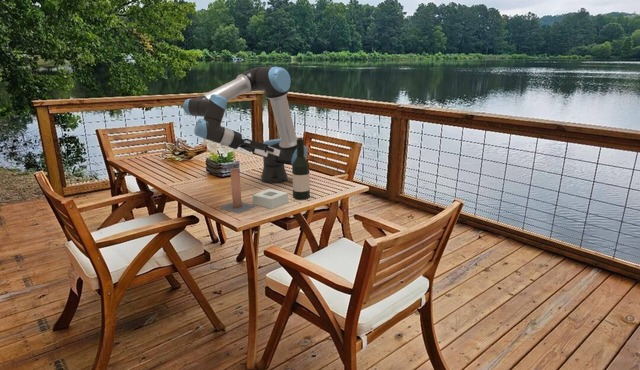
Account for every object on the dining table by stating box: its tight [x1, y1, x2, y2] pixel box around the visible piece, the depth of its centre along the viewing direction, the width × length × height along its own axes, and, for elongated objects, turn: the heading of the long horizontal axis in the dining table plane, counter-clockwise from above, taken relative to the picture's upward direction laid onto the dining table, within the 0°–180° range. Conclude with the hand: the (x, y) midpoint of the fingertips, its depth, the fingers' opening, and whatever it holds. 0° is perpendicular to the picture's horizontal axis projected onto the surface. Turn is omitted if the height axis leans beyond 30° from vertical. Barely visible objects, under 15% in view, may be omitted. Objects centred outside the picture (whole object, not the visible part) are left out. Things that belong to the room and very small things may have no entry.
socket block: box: [251, 188, 289, 210], centre depth 200 cm, size 12×12×5 cm
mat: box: [219, 201, 258, 215], centre depth 195 cm, size 14×12×1 cm
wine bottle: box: [291, 136, 311, 201], centre depth 205 cm, size 8×8×30 cm
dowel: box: [229, 167, 242, 208], centre depth 193 cm, size 4×4×18 cm
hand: (273, 153), depth 195 cm, fingers open, 13 cm apart
